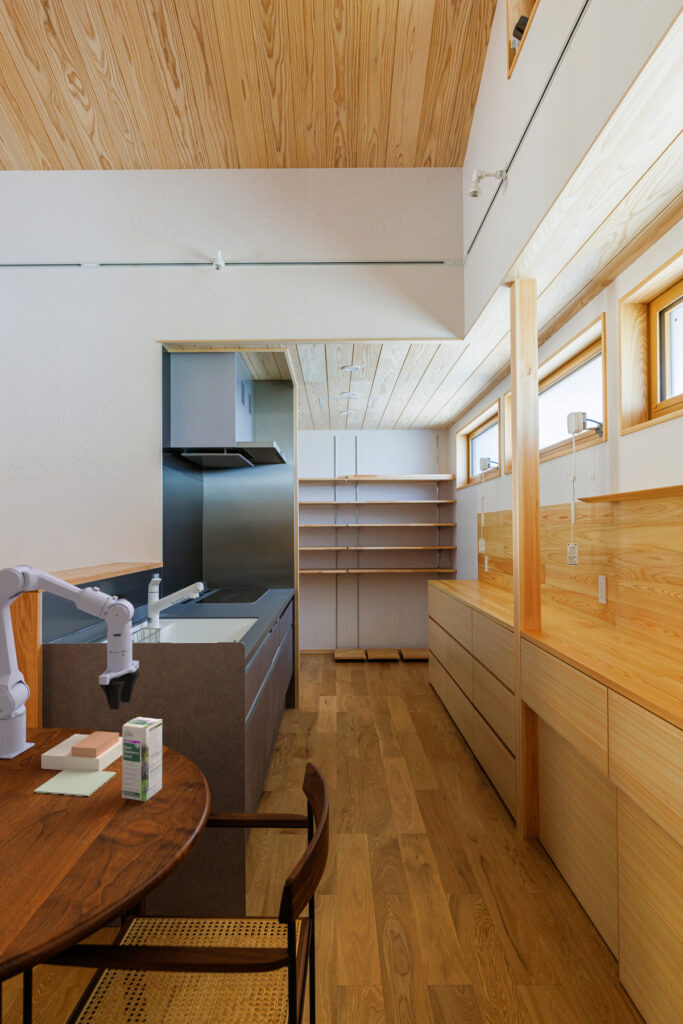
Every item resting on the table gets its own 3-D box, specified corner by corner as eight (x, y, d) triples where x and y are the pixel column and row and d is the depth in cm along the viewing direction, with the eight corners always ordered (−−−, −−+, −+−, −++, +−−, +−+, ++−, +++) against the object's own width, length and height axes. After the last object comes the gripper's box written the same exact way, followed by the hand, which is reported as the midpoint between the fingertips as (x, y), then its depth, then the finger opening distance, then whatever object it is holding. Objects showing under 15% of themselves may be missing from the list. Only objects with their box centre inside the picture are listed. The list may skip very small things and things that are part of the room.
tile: (71, 755, 123) (71, 746, 123) (95, 739, 132) (95, 731, 132) (96, 757, 122) (96, 748, 122) (119, 741, 131) (118, 732, 131)
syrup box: (120, 798, 111) (120, 725, 111) (139, 784, 116) (139, 714, 116) (145, 802, 109) (145, 728, 109) (163, 788, 115) (163, 717, 115)
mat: (33, 792, 113) (33, 790, 113) (65, 770, 123) (65, 768, 123) (88, 797, 111) (88, 795, 111) (116, 774, 121) (116, 772, 121)
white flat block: (41, 768, 124) (41, 754, 124) (75, 746, 136) (75, 734, 136) (99, 772, 122) (99, 758, 122) (128, 749, 134) (128, 737, 134)
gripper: (118, 658, 129) (118, 716, 129) (149, 643, 144) (149, 696, 144) (90, 657, 131) (90, 715, 131) (124, 643, 145) (124, 695, 145)
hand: (120, 705), depth 137 cm, fingers open, 4 cm apart
